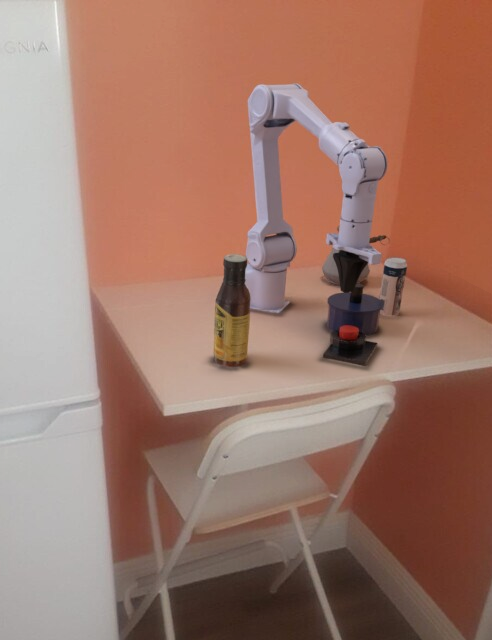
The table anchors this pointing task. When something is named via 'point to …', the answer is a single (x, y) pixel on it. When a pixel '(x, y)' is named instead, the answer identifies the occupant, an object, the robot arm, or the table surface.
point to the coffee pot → (331, 268)
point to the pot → (353, 320)
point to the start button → (348, 332)
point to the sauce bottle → (232, 314)
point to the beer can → (392, 285)
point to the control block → (350, 349)
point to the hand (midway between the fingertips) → (346, 291)
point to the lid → (355, 302)
